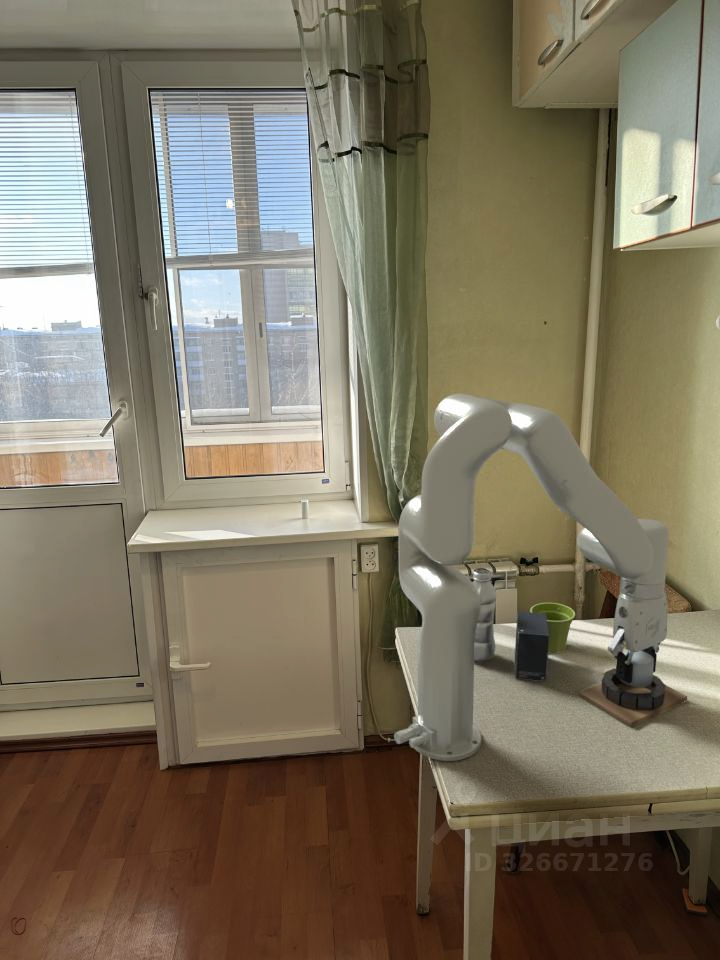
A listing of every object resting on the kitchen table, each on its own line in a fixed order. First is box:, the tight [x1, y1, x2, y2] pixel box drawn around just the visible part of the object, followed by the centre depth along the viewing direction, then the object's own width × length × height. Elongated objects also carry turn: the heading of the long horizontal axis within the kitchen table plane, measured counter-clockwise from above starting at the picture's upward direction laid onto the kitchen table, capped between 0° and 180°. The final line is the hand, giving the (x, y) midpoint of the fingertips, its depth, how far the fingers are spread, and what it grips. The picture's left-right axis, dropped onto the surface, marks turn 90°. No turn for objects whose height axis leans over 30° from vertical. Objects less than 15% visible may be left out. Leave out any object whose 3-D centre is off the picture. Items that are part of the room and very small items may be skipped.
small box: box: [514, 610, 549, 682], centre depth 142 cm, size 11×6×10 cm, turn 168°
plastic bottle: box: [472, 567, 498, 662], centre depth 145 cm, size 6×7×20 cm
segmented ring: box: [601, 667, 667, 711], centre depth 131 cm, size 11×11×2 cm
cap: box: [620, 650, 654, 687], centre depth 130 cm, size 6×6×5 cm
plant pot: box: [529, 602, 576, 655], centre depth 150 cm, size 9×9×9 cm
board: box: [578, 682, 688, 729], centre depth 131 cm, size 16×12×1 cm
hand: (635, 673), depth 130 cm, fingers closed on cap, 5 cm apart
